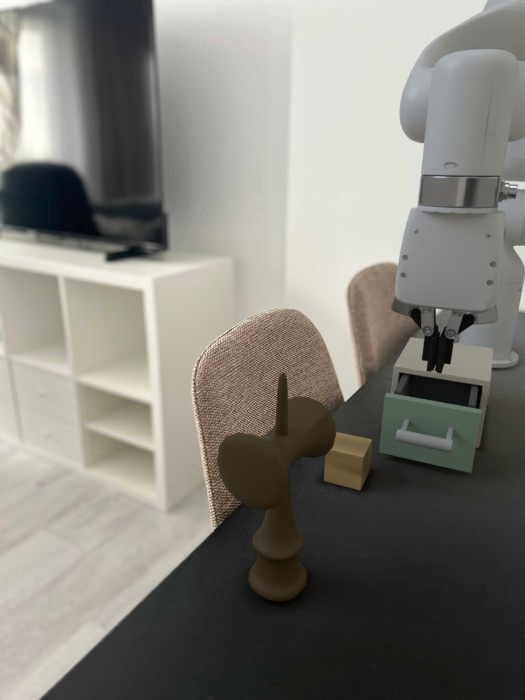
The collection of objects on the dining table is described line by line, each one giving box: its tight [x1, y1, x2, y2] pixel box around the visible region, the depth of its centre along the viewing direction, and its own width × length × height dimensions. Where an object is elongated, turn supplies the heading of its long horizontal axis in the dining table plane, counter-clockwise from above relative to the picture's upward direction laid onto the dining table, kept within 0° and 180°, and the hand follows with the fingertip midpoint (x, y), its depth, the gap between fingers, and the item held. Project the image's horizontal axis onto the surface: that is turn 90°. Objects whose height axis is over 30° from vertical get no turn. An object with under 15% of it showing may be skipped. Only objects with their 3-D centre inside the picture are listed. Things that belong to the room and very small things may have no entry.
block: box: [323, 431, 373, 491], centre depth 60 cm, size 4×4×4 cm
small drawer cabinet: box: [390, 336, 493, 449], centre depth 74 cm, size 14×12×10 cm
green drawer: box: [378, 373, 482, 474], centre depth 65 cm, size 18×11×8 cm, turn 156°
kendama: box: [216, 372, 337, 603], centre depth 42 cm, size 6×10×20 cm, turn 146°
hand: (435, 367), depth 57 cm, fingers closed
